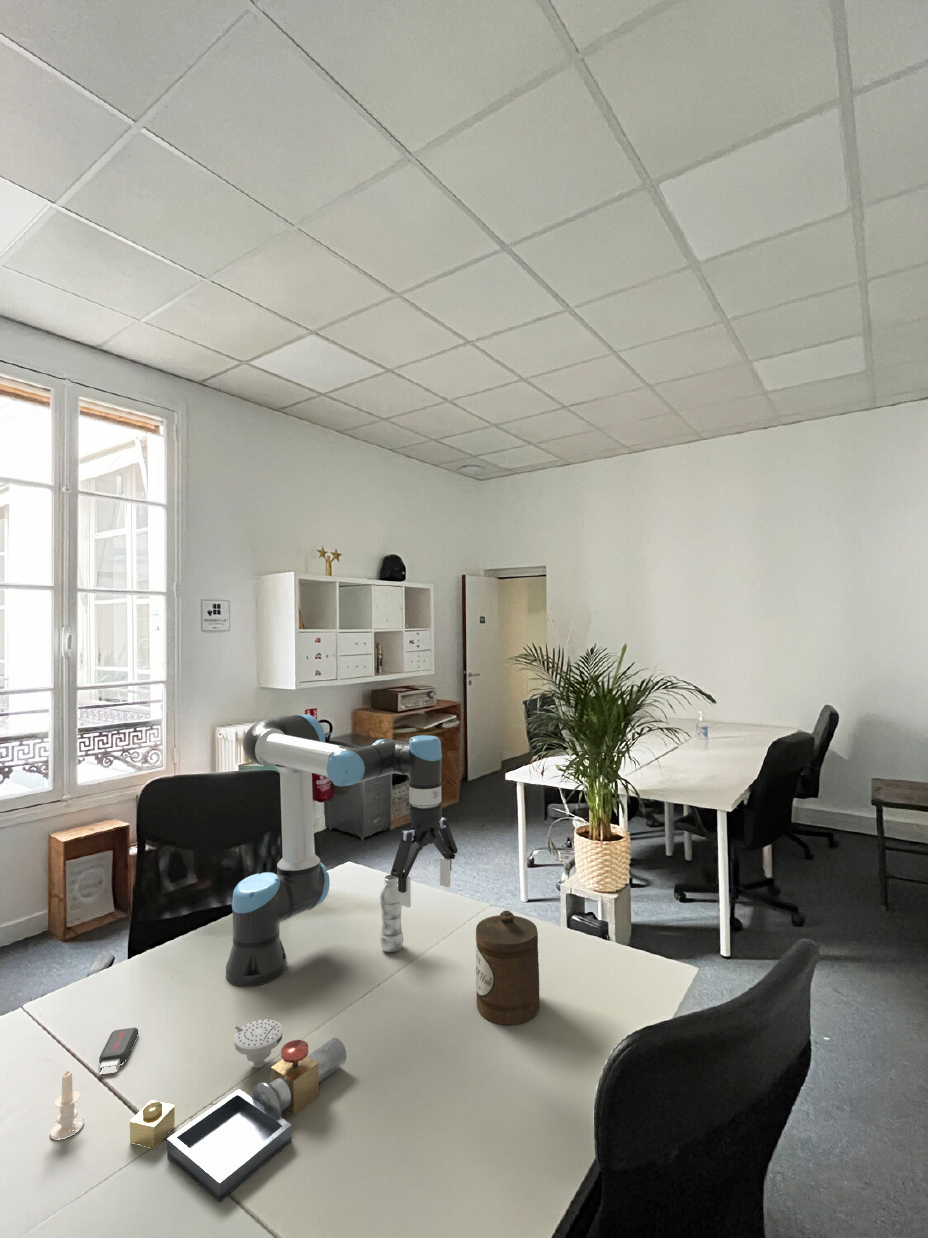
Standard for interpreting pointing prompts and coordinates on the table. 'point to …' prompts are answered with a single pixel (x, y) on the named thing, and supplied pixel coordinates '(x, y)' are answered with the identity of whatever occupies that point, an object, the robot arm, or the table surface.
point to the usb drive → (118, 1047)
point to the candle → (66, 1109)
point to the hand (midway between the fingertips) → (425, 895)
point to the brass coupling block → (152, 1124)
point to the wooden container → (507, 969)
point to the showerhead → (258, 1040)
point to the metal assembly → (252, 1120)
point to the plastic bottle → (391, 916)
